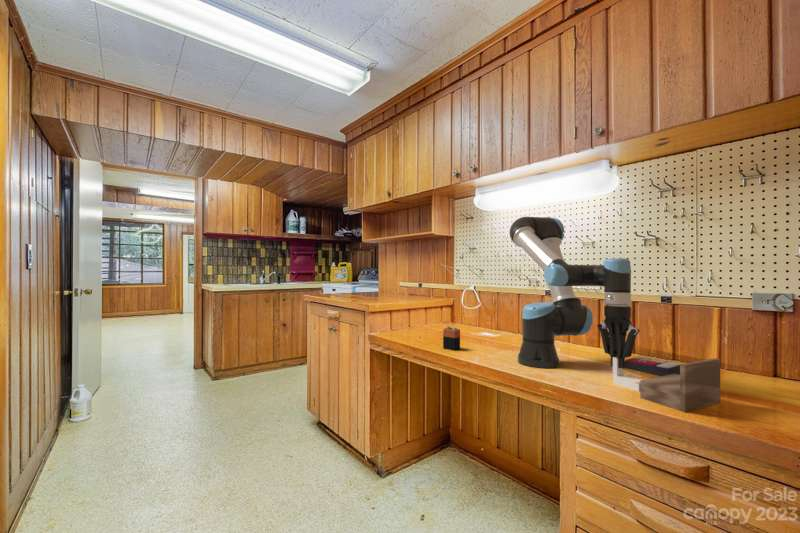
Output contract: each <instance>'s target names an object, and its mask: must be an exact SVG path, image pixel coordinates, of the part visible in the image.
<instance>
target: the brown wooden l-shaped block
mask: <svg viewBox="0 0 800 533" xmlns="http://www.w3.org/2000/svg"><path fill="white" fill-rule="evenodd" d="M644 379H645V380H640V391H639V392H640V393H639V396H640V399H643V400H646V401H650V402H652V403H656V404H657V405H661V406H665V407H668V408H671V409H674V410H677V411H680V412H683V413H687V412H690V411H691V410H692V411H695V410H698V408H699V409H703V408H705V406H706V407H709V406H711V405H712V404H713V405H716V404H719V403H721V359H720V358H715V357H714V358H709V359H704V360H703V359H702V360H697V361H692V362H687V363H681V364H680V375H679V374H670V375H665V376H655V377H650V378H644ZM694 409H695V410H694Z"/></svg>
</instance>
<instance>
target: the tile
mask: <svg viewBox="0 0 800 533" xmlns="http://www.w3.org/2000/svg"><path fill="white" fill-rule="evenodd" d="M612 379H613V380H612V381H613V383H612V384H613V385H616V386H620V387H623V388H626V389H629V390H633V391H636V392H640V380H645V379H646V378H643V377H639V376H634V375H631V374H623V375H621V376H616V377H613V376H612Z"/></svg>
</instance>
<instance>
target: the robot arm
mask: <svg viewBox="0 0 800 533" xmlns="http://www.w3.org/2000/svg"><path fill="white" fill-rule="evenodd" d="M564 233H565V226H564V224H563V222H562V221H561V220H560V219H559V218H556V217H551V216H550V217H549V216H546V217H545V216H544V217H540V216H522V217H519V218H518V219H516V220H514V222H512V224H511V225H510V228H509V238H510V240H511V241H512V242H513V244H514V245H516V246H517V247H519V248H521V249H523V251H524V252H526V255H528V256H529V257H530V258H531V259H532V260H533V261H534V262H535V263H536V264H537V265H538V266H539V267H540V269H542V271H543V278H544V280H545V283H546V284H547V285H548V289H549V293H550V296H551V299H552V301H551V302H550V301H549V302H547V301H546V302H545V301H544V302H543V301H542V302H533V303H532V302H531V303H528V304H525V305H523V306H524V307H523V309H522V315H521V318H522V343H521V345H520V346H521V347H520V349H519V353H518V355H517V362H518V363H520V364H521V365H524V366H528V367H532V368H533V367H534V368H541V369H543V368H544V369H550V368H551V369H553V368H556V367H559V366H560V358H559V356H558V352H557V349H556V346H555V336H556V337H557V336H559V337H560V336H562V337H563V336H574V337H576V336H581V335H585V334H587V333H588V332H589V331H590V330H591V328H592V325H593V321H594V319H593V318H594V317H593V312H592V310H591V309H590V308H589V307H588V306H587V305H583V304H582V301H581V298H580V297H578V296H576V295H575V293H574V292H575V291H574V289H573V287H604V289H603V291H604V292H603V295H604V300H603V302H604V307H603V308H604V310H603V312H604V313H603V314H604V320H603V322H601V323H599V324H597V328H598V330H599V332H600V337H601V343H602V346H603V351H604V353H605V354H607V355H609V356H610V365H611V367H612V378H613V377H616V376H621V375H624V373H623V370H624V369H625V368H624V367H625V361H626V358H631V357H632V354H633V351H634V350H633V349H634V346H635V343H636V338H637V336H638V334H639V332H640V329H639V328H635V327H634V326H633V324H632V321H631V317H632V307H631V306H630V305H631V304H632V287H631V286H632V269H631V268H632V267H631V260H630V259H629V258H625V257H622V258H619V257H618V258H617V257H615V258H613V257H612V258H605V259H604V262H603V264H568V262H566V261H565V258H564V256H563V254H562V250H561V247H560V246H561V245H562V243H563V242H562V241H563V240H564V237H565V234H564ZM627 333H628V334H627Z"/></svg>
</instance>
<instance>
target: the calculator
mask: <svg viewBox="0 0 800 533" xmlns="http://www.w3.org/2000/svg"><path fill="white" fill-rule="evenodd" d="M680 364H682V363H680V362H674V361H669V360H666V359H660V358H659V359H658V358H652V357H645V356H635V357H632V358H631V357H629V358H627V359H626V358H625V367H624V368H623V369H626V368H627V369H626V370H630V371H631V370H632V371H635V370H636V371H635V372H639V371H640V373H644V374H650V375H655V376H656V375H657V376H656V377H660V376H665V375H670V374H679V375H680Z"/></svg>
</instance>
